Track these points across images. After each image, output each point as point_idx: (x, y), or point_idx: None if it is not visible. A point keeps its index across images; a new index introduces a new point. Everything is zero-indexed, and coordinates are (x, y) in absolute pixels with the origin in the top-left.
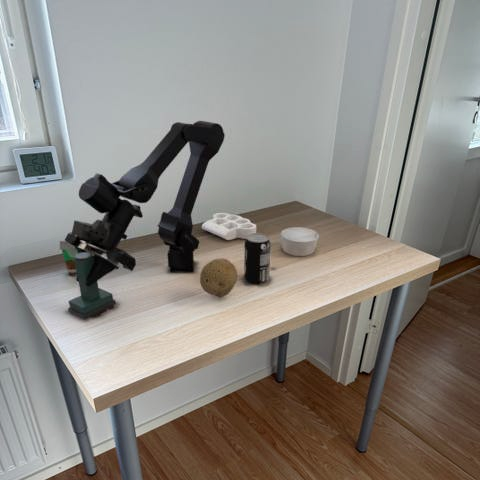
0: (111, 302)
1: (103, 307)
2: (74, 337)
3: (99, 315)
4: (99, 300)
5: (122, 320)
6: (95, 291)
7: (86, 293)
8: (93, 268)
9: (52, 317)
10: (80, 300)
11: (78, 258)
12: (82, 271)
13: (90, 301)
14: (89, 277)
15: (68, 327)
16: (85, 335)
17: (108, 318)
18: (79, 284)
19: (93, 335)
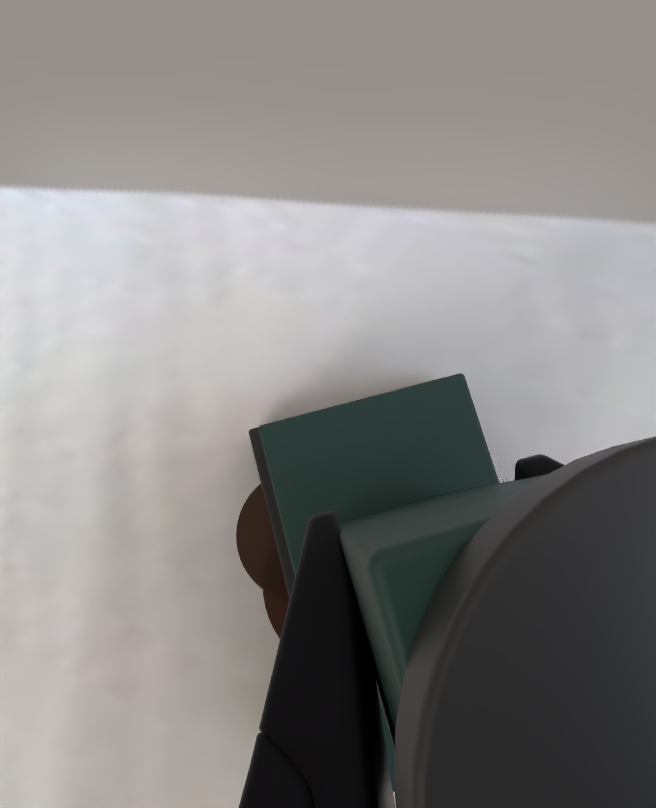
0: None
1: None
2: (81, 288)
3: (240, 555)
4: None
5: (48, 683)
6: None
7: (363, 518)
8: (319, 799)
9: (435, 262)
10: (409, 463)
11: (563, 479)
12: (397, 521)
13: None
14: (310, 606)
15: (231, 302)
16: (52, 356)
17: (155, 598)
18: (488, 486)
19: (12, 401)
